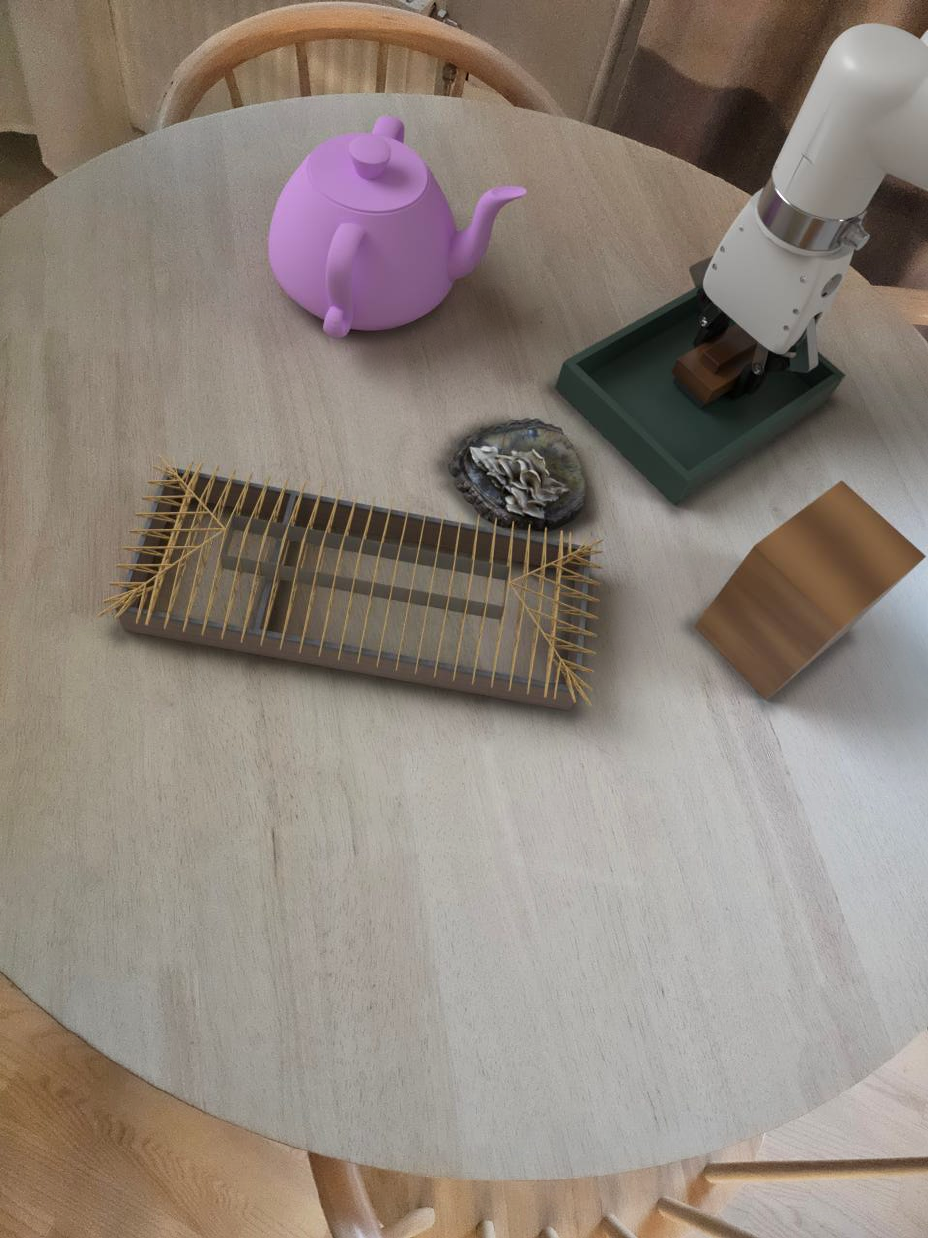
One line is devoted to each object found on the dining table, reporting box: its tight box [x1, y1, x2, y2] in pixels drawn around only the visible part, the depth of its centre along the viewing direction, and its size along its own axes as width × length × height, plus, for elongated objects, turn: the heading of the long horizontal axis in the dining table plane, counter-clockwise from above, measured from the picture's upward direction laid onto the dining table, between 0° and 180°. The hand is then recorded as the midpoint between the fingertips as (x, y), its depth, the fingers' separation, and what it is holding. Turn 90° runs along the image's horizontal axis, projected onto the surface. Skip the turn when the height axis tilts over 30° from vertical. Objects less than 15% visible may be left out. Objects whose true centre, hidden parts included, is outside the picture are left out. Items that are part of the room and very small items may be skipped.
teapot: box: [267, 115, 527, 339], centre depth 83 cm, size 22×22×14 cm
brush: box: [671, 324, 758, 409], centre depth 86 cm, size 10×4×4 cm, turn 130°
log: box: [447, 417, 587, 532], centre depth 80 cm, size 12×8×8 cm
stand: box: [694, 480, 927, 701], centre depth 71 cm, size 10×8×12 cm
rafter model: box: [97, 453, 604, 711], centre depth 70 cm, size 35×14×6 cm, turn 83°
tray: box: [554, 287, 846, 506], centre depth 86 cm, size 22×16×4 cm
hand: (721, 372), depth 88 cm, fingers closed on brush, 4 cm apart
